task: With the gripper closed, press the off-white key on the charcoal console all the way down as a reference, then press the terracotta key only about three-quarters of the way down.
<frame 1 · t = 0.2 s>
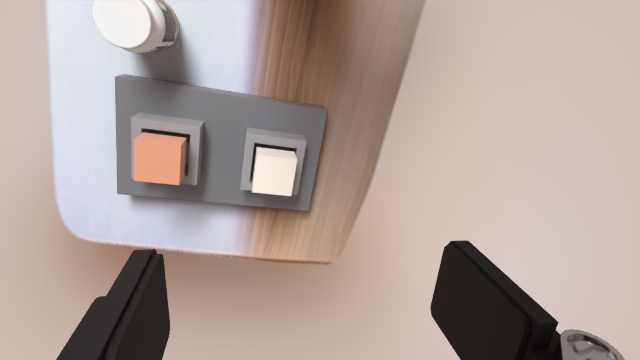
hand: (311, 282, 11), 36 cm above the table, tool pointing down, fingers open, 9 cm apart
terracotta key: (161, 158, 36), point 8 cm above the table, slide at 0.0 cm
console: (225, 145, 45), on the table
pale key: (273, 171, 39), point 8 cm above the table, slide at 0.0 cm
pill bottle: (153, 24, 39), on the table
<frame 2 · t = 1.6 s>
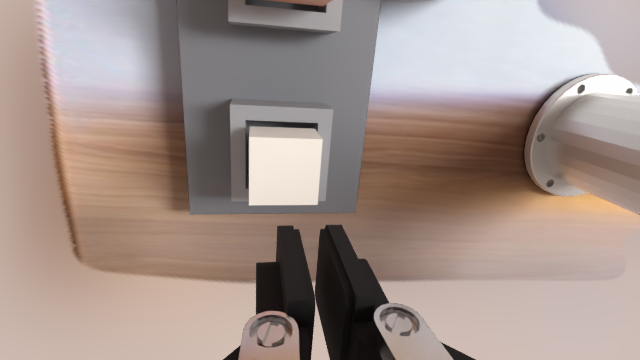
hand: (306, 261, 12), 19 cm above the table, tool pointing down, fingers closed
console: (278, 64, 28), on the table
pale key: (283, 165, 23), point 8 cm above the table, slide at 0.0 cm
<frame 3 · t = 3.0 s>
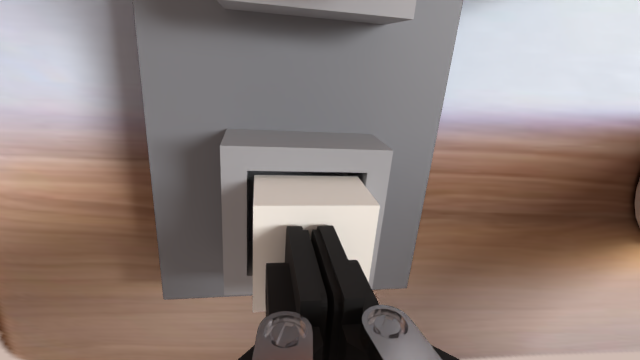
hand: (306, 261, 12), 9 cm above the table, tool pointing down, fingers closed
console: (298, 73, 18), on the table
pale key: (308, 239, 14), point 7 cm above the table, slide at 0.9 cm, touching gripper
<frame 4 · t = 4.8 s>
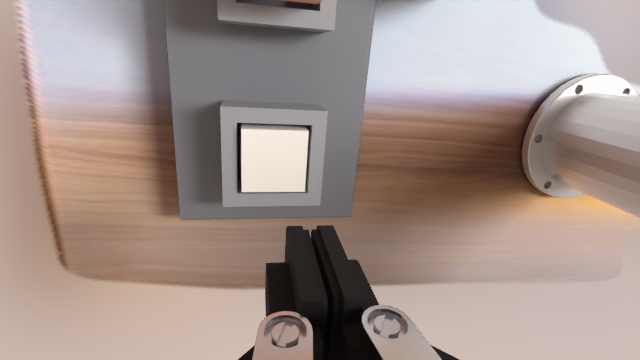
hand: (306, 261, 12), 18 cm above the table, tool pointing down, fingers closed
console: (271, 64, 27), on the table
pale key: (273, 155, 25), point 5 cm above the table, slide at 3.1 cm
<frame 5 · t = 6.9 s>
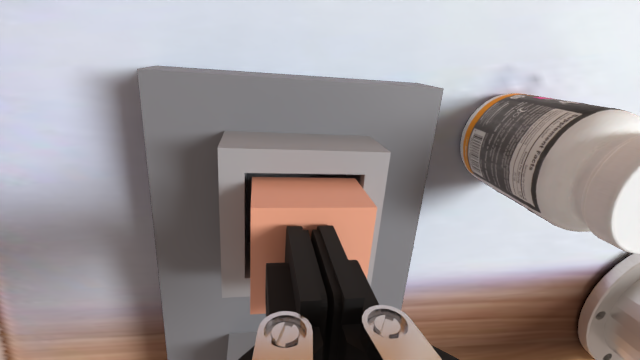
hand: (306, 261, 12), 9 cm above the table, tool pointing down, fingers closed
terracotta key: (306, 241, 14), point 7 cm above the table, slide at 0.9 cm, touching gripper
console: (287, 265, 22), on the table
pill bottle: (495, 136, 22), on the table
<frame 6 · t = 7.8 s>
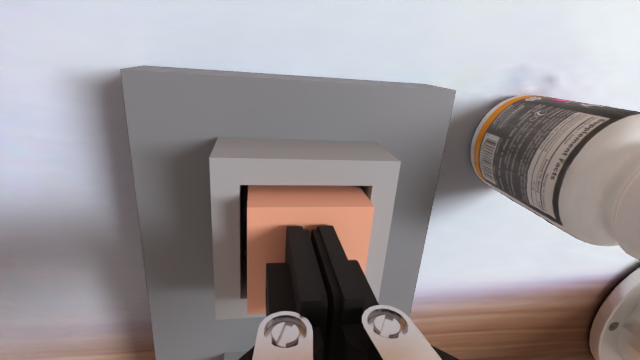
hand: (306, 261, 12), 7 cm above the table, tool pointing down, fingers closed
terracotta key: (303, 240, 14), point 6 cm above the table, slide at 2.2 cm, touching gripper
console: (286, 277, 21), on the table
pill bottle: (506, 141, 21), on the table
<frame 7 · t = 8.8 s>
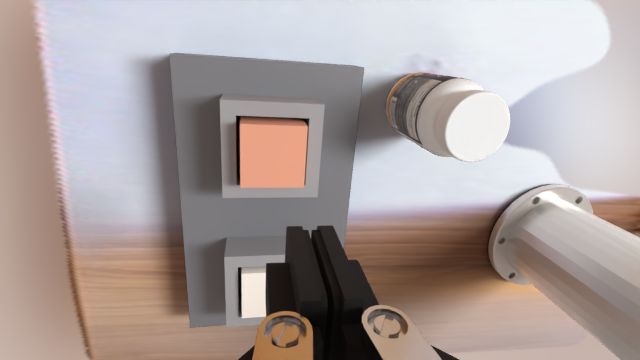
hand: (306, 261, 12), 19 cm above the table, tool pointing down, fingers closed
terracotta key: (272, 151, 24), point 6 cm above the table, slide at 2.3 cm
console: (267, 196, 32), on the table
pale key: (268, 283, 29), point 5 cm above the table, slide at 3.1 cm
pill bottle: (411, 104, 31), on the table
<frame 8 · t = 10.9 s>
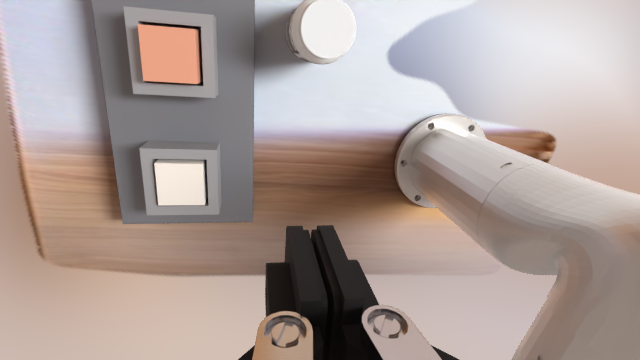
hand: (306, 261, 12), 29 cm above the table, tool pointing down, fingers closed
terracotta key: (172, 54, 30), point 6 cm above the table, slide at 2.3 cm
console: (188, 112, 37), on the table
pale key: (183, 179, 35), point 5 cm above the table, slide at 3.1 cm
pill bottle: (310, 33, 37), on the table
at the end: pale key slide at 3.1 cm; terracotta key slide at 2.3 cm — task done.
